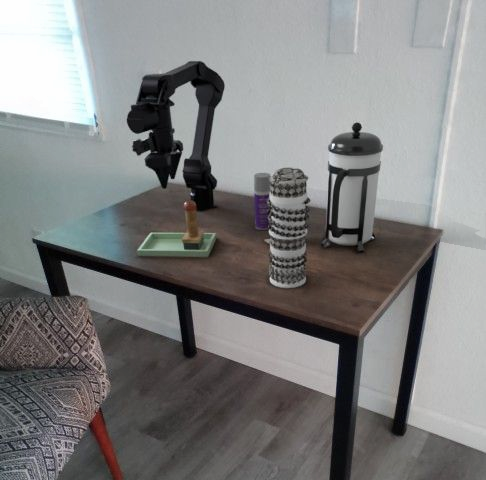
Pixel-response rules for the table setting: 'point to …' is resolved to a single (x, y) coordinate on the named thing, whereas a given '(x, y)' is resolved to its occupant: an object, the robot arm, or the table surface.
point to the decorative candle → (288, 227)
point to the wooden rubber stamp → (192, 228)
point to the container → (261, 200)
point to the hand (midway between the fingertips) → (168, 183)
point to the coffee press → (352, 188)
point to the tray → (174, 245)
